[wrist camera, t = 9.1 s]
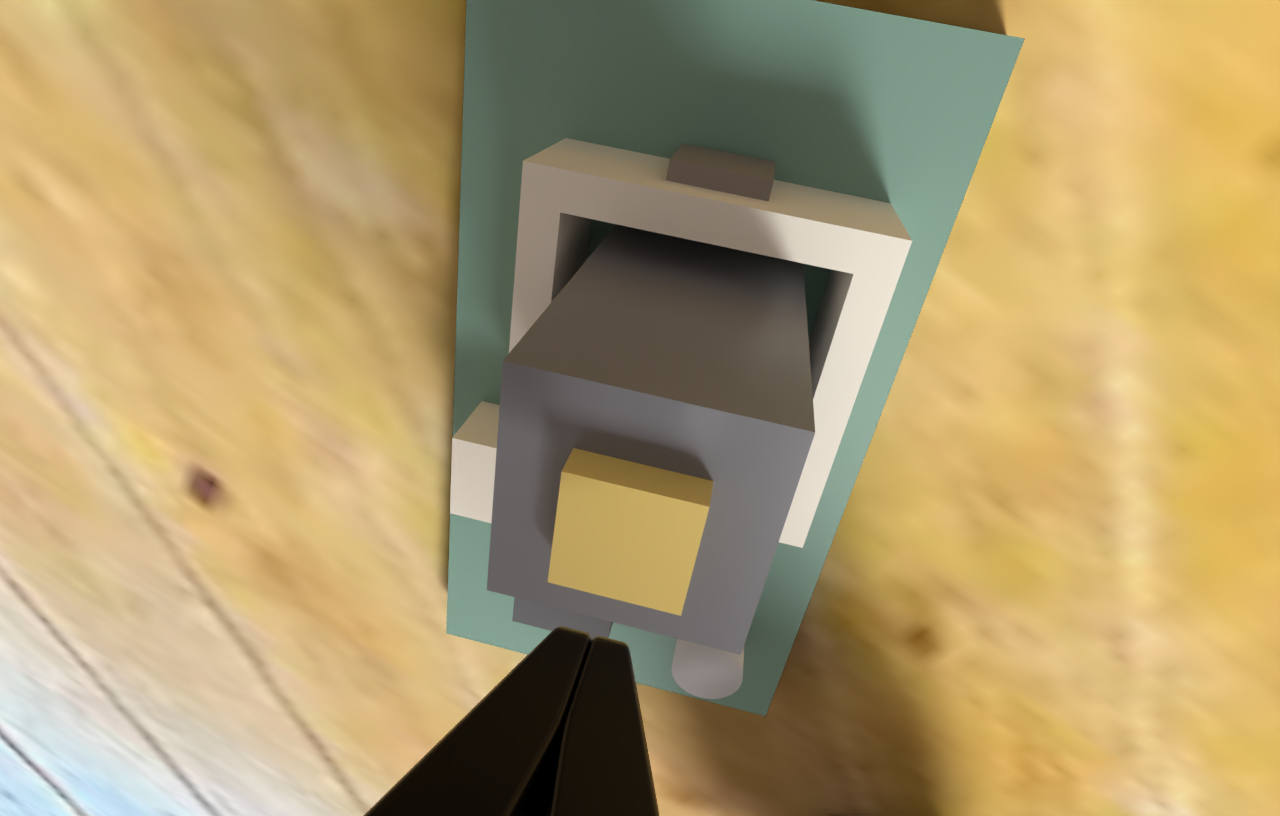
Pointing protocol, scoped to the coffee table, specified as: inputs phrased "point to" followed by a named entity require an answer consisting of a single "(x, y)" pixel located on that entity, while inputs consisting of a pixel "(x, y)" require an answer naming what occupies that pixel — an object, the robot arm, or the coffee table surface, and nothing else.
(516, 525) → the plug
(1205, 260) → the coffee table surface
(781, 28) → the board
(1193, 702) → the coffee table surface
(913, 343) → the coffee table surface
